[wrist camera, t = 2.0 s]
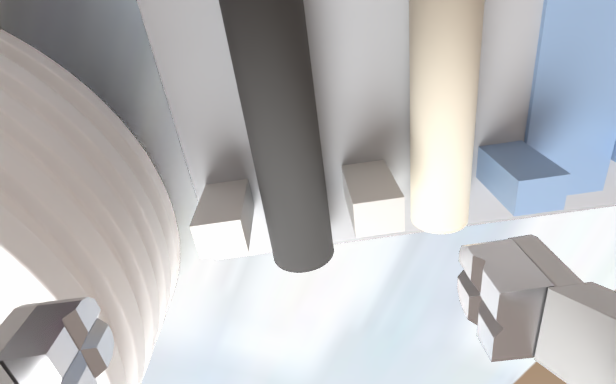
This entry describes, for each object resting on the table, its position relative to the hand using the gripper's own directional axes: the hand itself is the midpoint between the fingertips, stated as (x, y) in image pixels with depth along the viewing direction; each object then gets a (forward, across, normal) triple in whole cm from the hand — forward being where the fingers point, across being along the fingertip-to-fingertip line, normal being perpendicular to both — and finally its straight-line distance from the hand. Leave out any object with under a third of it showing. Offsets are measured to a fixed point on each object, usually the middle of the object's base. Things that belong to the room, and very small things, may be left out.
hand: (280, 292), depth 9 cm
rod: (+14, -8, 0) cm, 16 cm away
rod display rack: (+15, -8, 0) cm, 17 cm away
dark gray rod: (+14, 0, 0) cm, 14 cm away
